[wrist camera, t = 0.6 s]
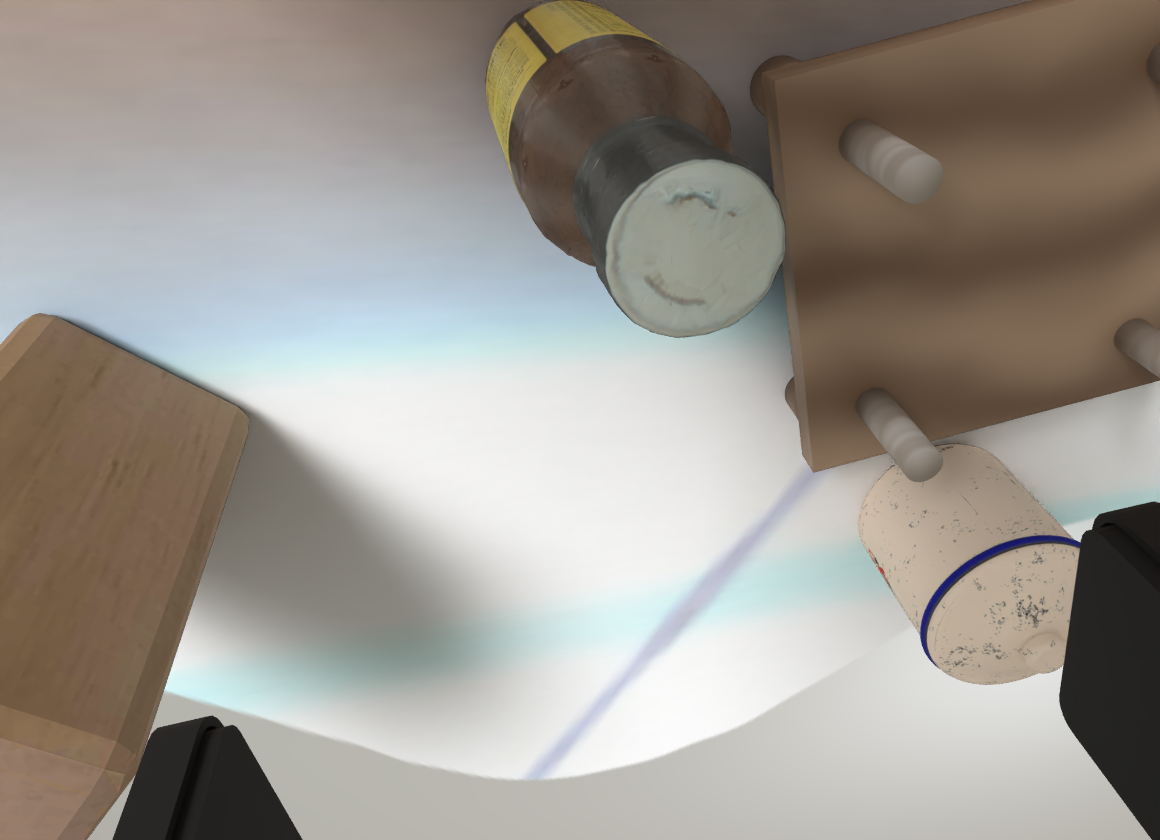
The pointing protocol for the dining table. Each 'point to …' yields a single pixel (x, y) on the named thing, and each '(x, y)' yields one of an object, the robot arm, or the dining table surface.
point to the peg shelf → (967, 224)
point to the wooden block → (95, 562)
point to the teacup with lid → (974, 566)
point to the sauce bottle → (633, 168)
